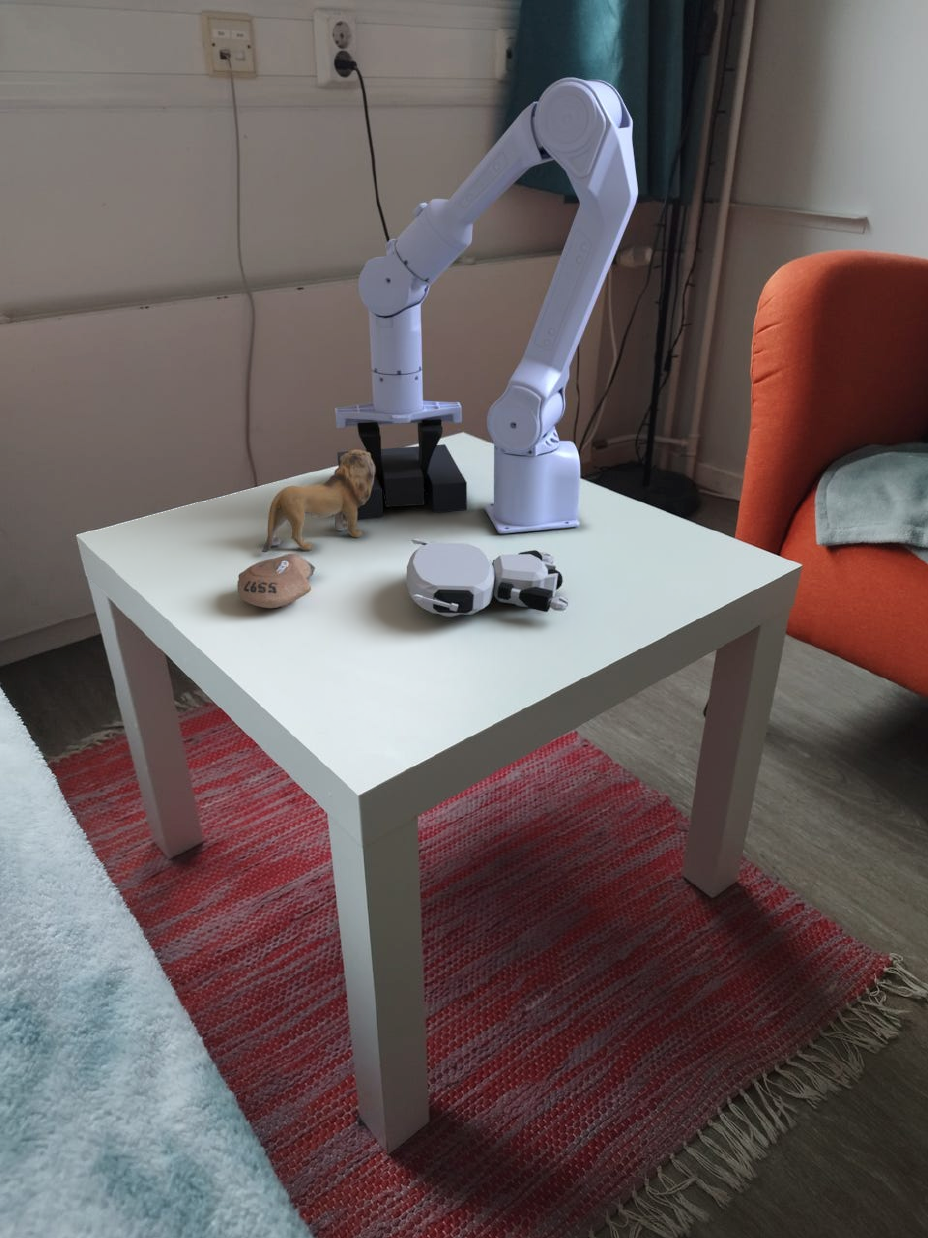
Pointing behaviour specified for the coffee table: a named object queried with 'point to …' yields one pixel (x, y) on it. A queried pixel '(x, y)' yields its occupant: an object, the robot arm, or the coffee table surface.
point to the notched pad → (440, 488)
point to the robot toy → (480, 579)
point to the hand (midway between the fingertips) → (400, 482)
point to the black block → (402, 480)
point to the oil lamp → (275, 581)
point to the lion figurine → (324, 499)
